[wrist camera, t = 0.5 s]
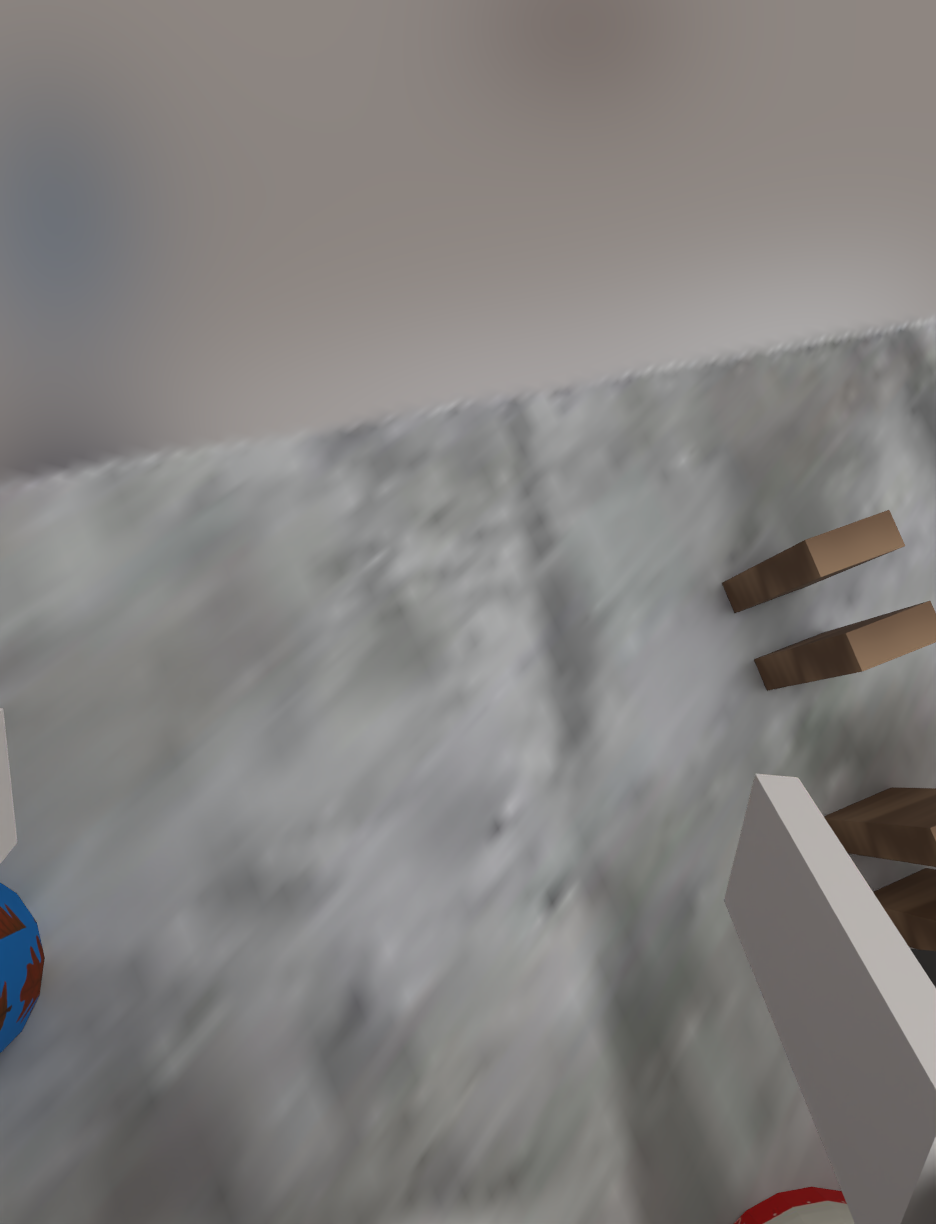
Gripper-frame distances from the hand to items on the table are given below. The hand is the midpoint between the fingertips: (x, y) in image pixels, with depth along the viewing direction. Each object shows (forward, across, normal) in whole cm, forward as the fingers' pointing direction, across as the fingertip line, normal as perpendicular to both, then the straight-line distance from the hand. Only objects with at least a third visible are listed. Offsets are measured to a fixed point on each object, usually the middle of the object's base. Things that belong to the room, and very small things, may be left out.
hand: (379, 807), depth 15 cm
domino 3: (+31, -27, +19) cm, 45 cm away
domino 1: (+38, -20, +7) cm, 43 cm away
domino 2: (+35, -22, +11) cm, 43 cm away
